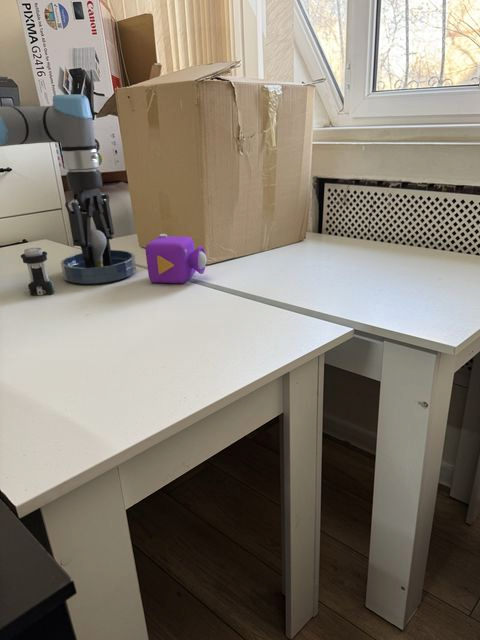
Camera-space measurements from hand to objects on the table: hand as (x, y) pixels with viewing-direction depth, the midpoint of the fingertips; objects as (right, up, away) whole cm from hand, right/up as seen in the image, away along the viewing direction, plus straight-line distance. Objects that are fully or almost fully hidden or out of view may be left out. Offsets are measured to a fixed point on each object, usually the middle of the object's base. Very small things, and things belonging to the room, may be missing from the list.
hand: (99, 268), depth 125 cm
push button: (-10, -8, -11) cm, 17 cm away
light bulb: (0, 0, 0) cm, 1 cm away
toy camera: (+21, -3, -4) cm, 21 cm away
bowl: (0, -1, +1) cm, 2 cm away
